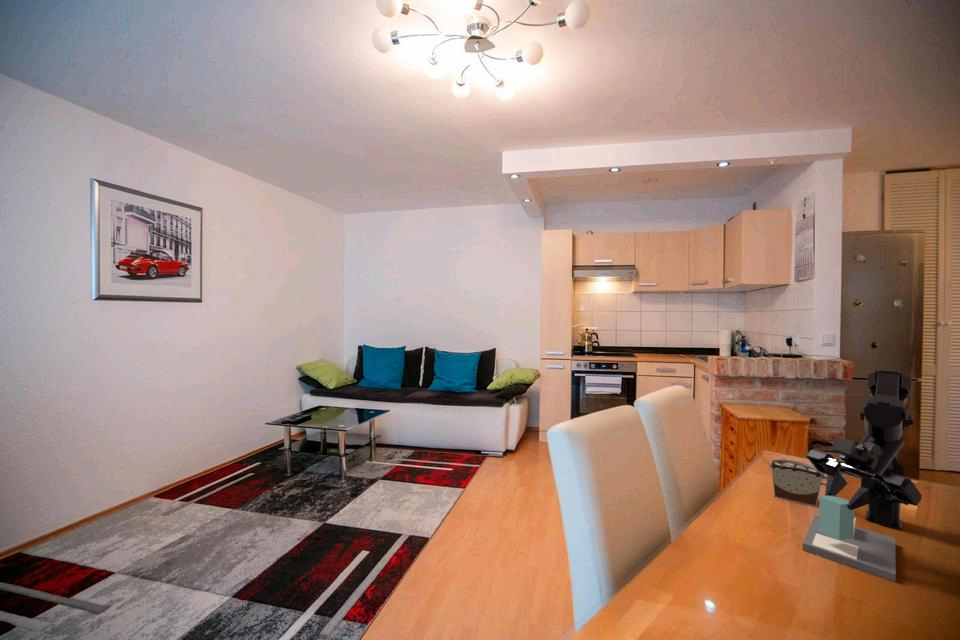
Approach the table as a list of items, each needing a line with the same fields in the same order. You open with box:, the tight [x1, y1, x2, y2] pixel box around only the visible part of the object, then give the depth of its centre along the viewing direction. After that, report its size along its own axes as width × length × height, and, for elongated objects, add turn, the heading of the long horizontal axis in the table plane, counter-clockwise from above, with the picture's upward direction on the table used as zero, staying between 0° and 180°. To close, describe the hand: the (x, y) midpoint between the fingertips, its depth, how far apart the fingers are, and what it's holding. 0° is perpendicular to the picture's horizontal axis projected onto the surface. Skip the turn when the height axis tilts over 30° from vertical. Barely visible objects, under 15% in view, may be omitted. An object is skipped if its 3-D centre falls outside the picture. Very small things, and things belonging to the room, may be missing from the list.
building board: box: [802, 514, 897, 583], centre depth 88 cm, size 20×14×4 cm
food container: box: [768, 458, 826, 508], centre depth 114 cm, size 12×6×10 cm, turn 58°
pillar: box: [818, 495, 855, 540], centre depth 86 cm, size 4×4×8 cm
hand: (837, 503), depth 86 cm, fingers closed on pillar, 4 cm apart
